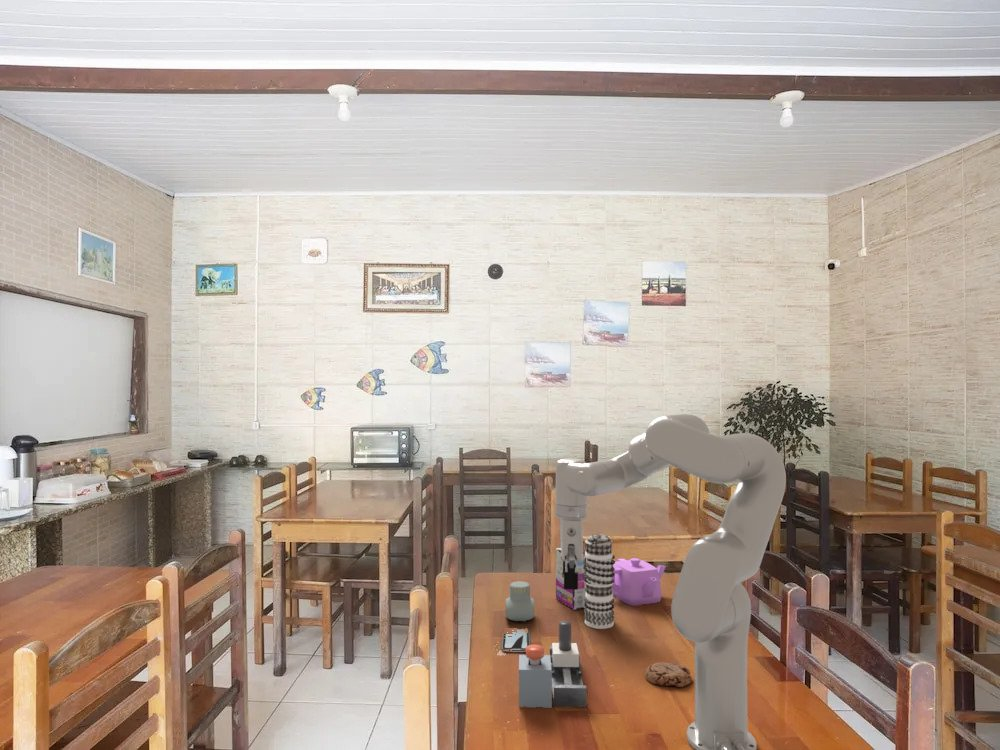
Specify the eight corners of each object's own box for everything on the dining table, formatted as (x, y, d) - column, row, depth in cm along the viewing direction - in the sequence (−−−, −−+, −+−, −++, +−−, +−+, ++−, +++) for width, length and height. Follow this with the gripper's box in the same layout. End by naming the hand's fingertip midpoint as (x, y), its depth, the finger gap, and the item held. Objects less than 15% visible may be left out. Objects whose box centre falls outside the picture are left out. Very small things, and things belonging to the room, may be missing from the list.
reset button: (544, 678, 129) (544, 652, 129) (525, 678, 129) (525, 652, 130) (543, 669, 133) (543, 644, 133) (525, 669, 133) (525, 644, 134)
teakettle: (617, 585, 205) (616, 549, 205) (667, 593, 197) (667, 555, 197) (602, 602, 189) (602, 562, 189) (656, 610, 182) (656, 570, 182)
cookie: (637, 674, 143) (637, 661, 143) (674, 666, 147) (673, 654, 147) (662, 694, 134) (662, 680, 134) (700, 685, 137) (700, 672, 137)
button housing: (551, 707, 128) (551, 670, 128) (519, 707, 128) (518, 669, 128) (550, 690, 135) (550, 655, 135) (519, 690, 135) (519, 654, 135)
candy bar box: (587, 608, 184) (587, 554, 184) (573, 611, 182) (573, 556, 182) (568, 596, 194) (568, 545, 194) (555, 599, 192) (554, 547, 192)
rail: (586, 707, 128) (586, 688, 128) (553, 706, 128) (553, 687, 128) (578, 663, 148) (577, 646, 148) (549, 662, 148) (549, 646, 148)
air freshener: (534, 625, 171) (534, 590, 171) (505, 625, 171) (505, 590, 171) (533, 611, 182) (533, 578, 182) (506, 611, 182) (506, 578, 182)
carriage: (581, 673, 140) (581, 628, 140) (550, 673, 140) (550, 628, 140) (579, 661, 146) (578, 618, 146) (549, 661, 146) (549, 618, 146)
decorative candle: (622, 626, 170) (621, 538, 170) (593, 631, 167) (593, 541, 167) (604, 614, 179) (604, 531, 179) (577, 619, 175) (577, 534, 175)
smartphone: (529, 627, 169) (530, 650, 154) (529, 630, 169) (530, 653, 154) (503, 627, 169) (501, 649, 154) (503, 630, 169) (501, 653, 154)
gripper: (589, 519, 134) (588, 595, 135) (584, 503, 152) (583, 570, 152) (555, 518, 135) (554, 594, 135) (554, 502, 152) (554, 569, 152)
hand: (570, 581), depth 143 cm, fingers open, 9 cm apart
